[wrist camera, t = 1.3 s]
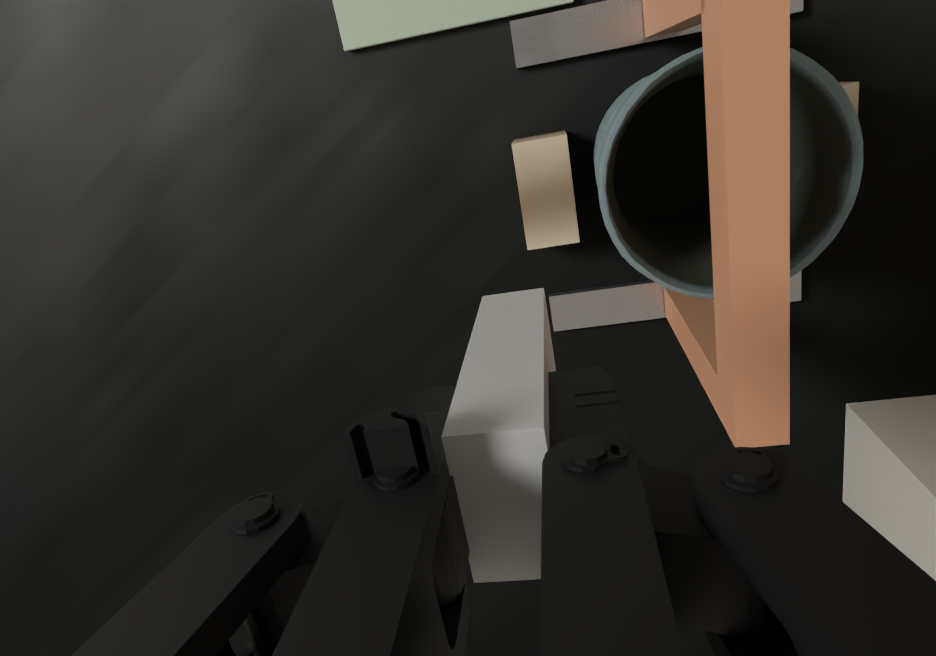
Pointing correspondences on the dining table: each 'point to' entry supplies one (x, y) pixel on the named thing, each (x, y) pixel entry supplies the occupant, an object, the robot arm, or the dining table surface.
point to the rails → (576, 37)
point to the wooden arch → (741, 214)
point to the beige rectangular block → (561, 185)
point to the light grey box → (894, 472)
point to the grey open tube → (686, 170)
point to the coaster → (420, 17)
